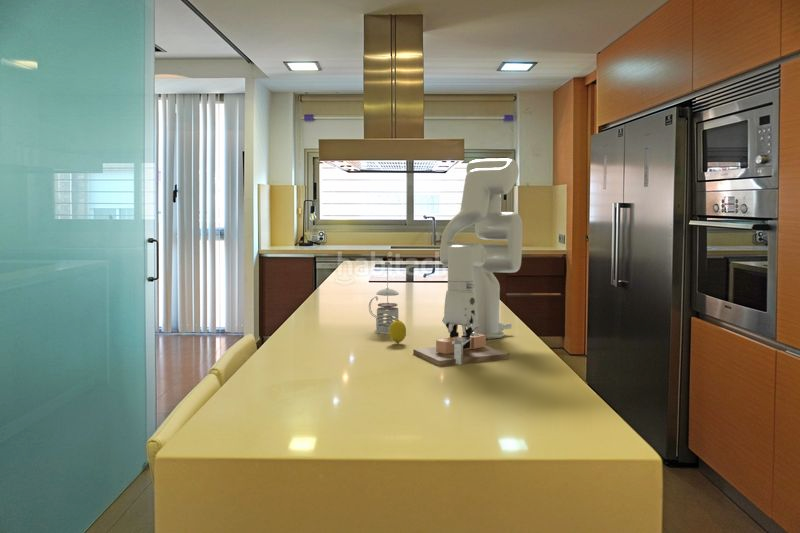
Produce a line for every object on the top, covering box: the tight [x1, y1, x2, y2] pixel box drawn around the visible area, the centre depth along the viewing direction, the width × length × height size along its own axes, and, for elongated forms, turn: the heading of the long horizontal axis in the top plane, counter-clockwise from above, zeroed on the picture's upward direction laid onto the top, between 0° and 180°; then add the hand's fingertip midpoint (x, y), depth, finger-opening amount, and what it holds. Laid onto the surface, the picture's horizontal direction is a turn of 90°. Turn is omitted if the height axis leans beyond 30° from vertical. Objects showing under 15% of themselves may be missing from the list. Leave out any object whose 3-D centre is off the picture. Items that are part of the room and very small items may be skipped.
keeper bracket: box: [452, 337, 471, 366], centre depth 197 cm, size 8×4×6 cm, turn 159°
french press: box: [368, 261, 400, 335], centre depth 243 cm, size 10×12×25 cm
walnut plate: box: [412, 345, 510, 367], centre depth 204 cm, size 23×17×2 cm
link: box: [435, 334, 487, 354], centre depth 206 cm, size 17×5×4 cm, turn 132°
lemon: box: [388, 318, 407, 345], centre depth 222 cm, size 6×6×8 cm
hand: (459, 346), depth 206 cm, fingers closed on link, 4 cm apart
